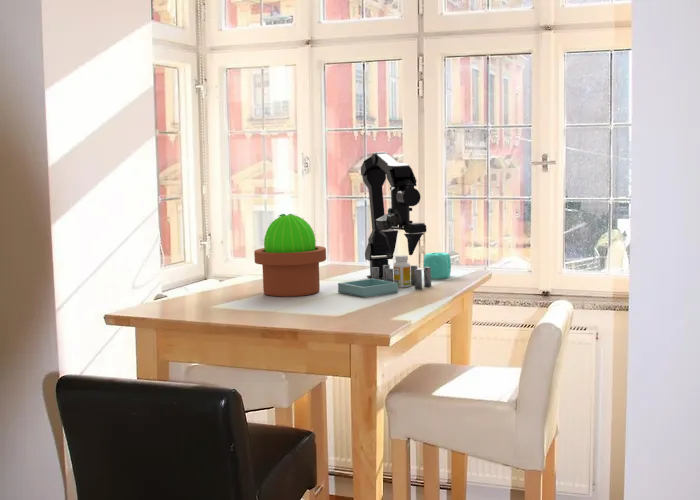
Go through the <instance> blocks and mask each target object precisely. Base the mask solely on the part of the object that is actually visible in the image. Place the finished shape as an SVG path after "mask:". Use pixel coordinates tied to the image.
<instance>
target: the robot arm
mask: <svg viewBox="0 0 700 500" xmlns="http://www.w3.org/2000/svg"><path fill="white" fill-rule="evenodd" d="M389 154H390V153H388V152H386V151H377V152H376V151H375V152H373V153H372V154H371V156H370V157H368V158H366V159H365V160H364V161H362V162H363V163H362V164H361V166H360V176H362V181H363V183H364V185H365V186H366V187H367V188H368V189H367V190H368V198H369V210H370V219H371V221H370V222H371V231H370V232H371V233H370V234H369V236H368V239H367V240H368V242H367V245H366V249H365V251H364V258H365V261H366V260H367V261H369V271H370V272H369V274H370V275H366V278H368V279H372V268H373V267H379V280H381V279H383V265H390V263H389V260H393V259H394V254H395V250H396V245H397V239H398V233H399V230H401V231H404V232H405V233H403V235H404V236H405V238H406V239H407V249H408V255H409V256H413V254H414V252H415V250H416V247H417V246H418V243H419V241H420V240H421V238H422V236H423V235H425V233H427V225H426V224H425V222H424V223H423V222H413V220H411V219H410V217H411V215H410V212H413V207H416V206H417V205H418V204H419V203H420V201H421V193H420V192H419V190H418V189H417V188H415V187H417V178H416V176H415V173H414V171H413V169H412V167H411V165H409V164H407V163H402V162H398V161H397V160H395V159H394V158H393V157H391V156H390V155H389ZM386 180H387V181H388V183H389V185H390V186H389V190H390V202H391V203H390V204H391V205H390V208H389V207H388V209H387V213H386V212H385V205H384V192H383V185H384V184H385V181H386ZM385 213H386V214H385Z"/></svg>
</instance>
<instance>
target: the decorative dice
mask: <svg viewBox="0 0 700 500" xmlns="http://www.w3.org/2000/svg"><path fill="white" fill-rule="evenodd" d="M424 267H431V280H438V279H439V280H442V279H441V278H444V279H449V278H450V276H451V272H452V270H451V269H452V260H451V255H450V253H448V252H428V253H425V254H424V258H423V268H424Z"/></svg>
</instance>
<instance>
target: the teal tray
mask: <svg viewBox="0 0 700 500" xmlns="http://www.w3.org/2000/svg"><path fill="white" fill-rule="evenodd" d="M398 288H399V287H398V283H396V282H394V281H393V282H390V281H384V280H383V279H379V280H377V279H372V278H366V279H359V280H352V281H344V282H343V281H342V282H337V290H338V291H337V292H338V294H341V295H342V294H343V295H349V296H353V297H354V296H355V297H359V298H364V299H365V298H369V297H376V296H383V295H390V294H398V293H399V289H398Z"/></svg>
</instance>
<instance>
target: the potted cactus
mask: <svg viewBox="0 0 700 500" xmlns="http://www.w3.org/2000/svg"><path fill="white" fill-rule="evenodd" d="M314 232H315V230H314V229H313V227H311V224H309V222H308V221H306V219H305V218H304V217H300V216H298V215H297V214H294V213H288V214H287V215H286V214H285V213H281V214H280V215H278V216H277V218H276V219H275V217H274V220H272V222H271V223H269V226H268V227H267V230H266V231H265V235H264V239H262V242H263V247H261V248H258V249H255V250H254V251H253V252H254V263H255V264H256V265H262V266H261V267H262V285H263V286H262V287H263V288H262V289H263V294H264V295H266V296H269V297H270V296H271V297H279V298H280V297H282V298H283V297H285V298H287V297H302V296H310V295H314V294H316V293H318V292H319V291H320V290H321V289H320V287H321V285H320V263H322V262H325V261H326V260H327V248H326V247H325V246H321V245H317V244H316V243H317V239H316V235H317V234H316V233H314Z"/></svg>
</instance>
